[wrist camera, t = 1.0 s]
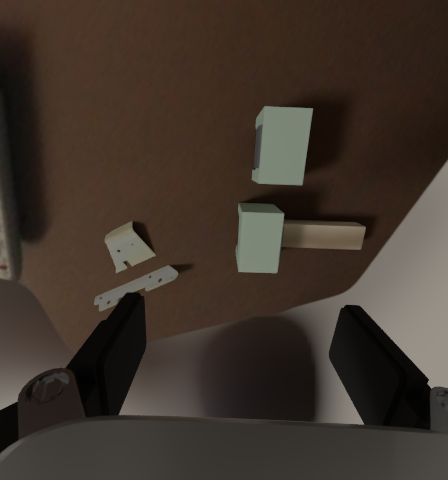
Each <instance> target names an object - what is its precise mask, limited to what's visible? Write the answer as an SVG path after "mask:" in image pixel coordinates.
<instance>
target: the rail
mask: <svg viewBox="0 0 448 480" xmlns="http://www.w3.org/2000/svg"><path fill="white" fill-rule="evenodd" d="M283 226H284V232H283V240H282V247H299V248H329V249H358V250H361V246H362V242H363V238H364V234H365V229H366V227H365V226H363V225H361V224H359V223H356V222H340V221H312V220H284V221H283Z"/></svg>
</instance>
